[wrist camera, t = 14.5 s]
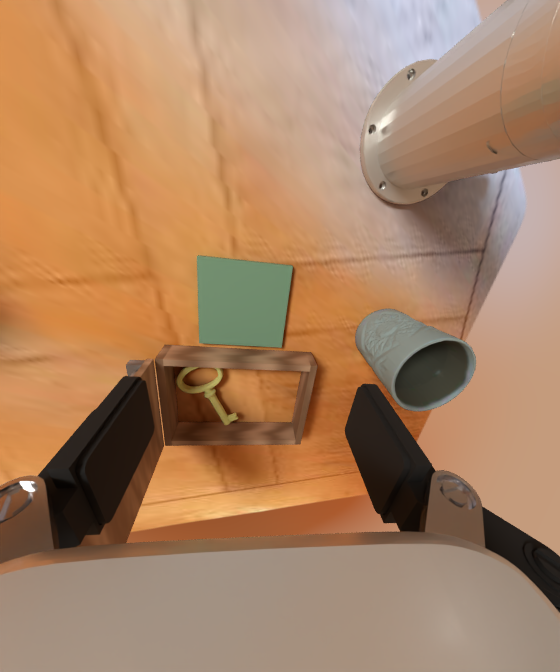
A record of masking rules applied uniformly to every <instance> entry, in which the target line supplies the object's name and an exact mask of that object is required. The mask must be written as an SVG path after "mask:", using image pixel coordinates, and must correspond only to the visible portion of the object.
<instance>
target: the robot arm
mask: <svg viewBox="0 0 560 672" xmlns="http://www.w3.org/2000/svg"><path fill="white" fill-rule="evenodd" d="M407 77H408V78H407ZM368 130H370V131H371V133H370V134H369V132H368ZM556 159H560V0H507V1H505V2H504V3H503V4H502V5H501V6H500V7H499V8H497V9H496V10H495V11H494V12H493V13H492V14H490V15H489V16H488V17H487V18H486V19H485V20H484V21H482V22H481V23H480V24H479V25H478V26H477V27H476V28H474V29H473V30H472V31H471V32H470V33H469V34H467V35H466V36H465V37H464V38H463V39H462V40H461V41H459V42H458V43H457V44H456V45H455V46H454V47H453V48H451V49H450V50H449V51H448V52H447V53H446V54H444V55H443V56H442V57H441V58H440V59H439V60H434V59H427V60H422V61H417V62H415V63H413V64H411V65H408V66H406V67H405V68H403V69H402V70H401V71H399V72H398V73H397V74H395V75H394V76H393V77H392V78H391V79H390V80H389V81H388V82H387V83H386V84H385V86H384V87H383V88H382V89H381V91H380V92H379V93H378V94H377V96H376V98H375V99H374V101H373V103H372V105H371V106H370V108H369V111H368V113H367V116H366V118H365V121H364V125H363V129H362V133H361V141H360V161H361V166H362V170H363V174H364V176H365V179H366V181H367V183H368V185H369V186H370V188H371V189H372V191H373V192H374V193H375V194H376V195H377V196H378V197H380V198H381V199H383V200H385V201H386V202H389V203H393V204H401V205H406V204H413V203H417V202H420V201H423V200H425V199H427V198H429V197H431V196H432V195H434V194H435V193H436V192H438V191H439V190H440V189H442V188H443V187H444V186H445V185H446V183H447V182H450V181H455V180H459V179H464V178H469V177H474V176H479V175H484V174H488V173H491V174H493V173H497V172H498V171H503V170H508V169H513V168H517V167H522V166H527V165H532V164H537V163H542V162H547V161H551V160H556ZM379 184H380V185H381V187H380V188H379ZM421 192H422V193H421ZM154 428H155V426H154V420H153V415H152V410H151V405H150V400H149V394H148V389H147V384H146V381H145V380H142V378H141V377H137V376H125V377H123V378H122V379H121V380H120V381H119V383H118V384H117V385H116V386H115V387H114V389H113V390H112V391H111V392H110V393H109V394H108V396H107V397H106V398H105V399H104V400H103V402H102V403H101V404H100V405H99V406H98V408H97V409H95V410H94V411H93V412H92V413H91V414H90V415H89V416H88V417H87V418H86V420H85V421H84V422H83V423H82V424H81V425H80V427H79V428H78V429H77V430H76V431H75V433H74V434H73V435H72V436H71V437H70V438H69V440H68V441H67V442H66V443H65V444H64V446H63V447H62V448H61V449H60V450H59V451H58V453H57V454H56V455H55V456H54V457H53V458H52V460H51V461H50V462H49V463H48V464H47V466H46V467H45V468H44V469H43V470H42V471H41V473H40V474H39V475H38V476H24V477H19V478H17V479H14V480H11V481H9V482H7V483H5V484H3V485H1V486H0V672H560V557H559V556H558V555H557V554H556V553H555V552H554V551H552V550H551V549H550V548H548V547H547V546H545V545H544V544H542V543H541V542H539V541H537V540H536V539H534V538H532V537H531V536H529V535H528V534H526V533H524V532H523V531H521V530H519V529H518V528H516V527H515V526H513V525H511V524H510V523H508V522H506V521H504V520H503V519H502V518H500V517H498V516H497V515H495V514H494V513H492V512H490V511H489V510H487V509H485V508H484V507H482V504H481V500H480V498H479V496H478V494H477V493H476V491H475V490H474V489H473V488H472V487H471V486H470V484H468V483H467V482H466V481H465V480H464V479H462V478H461V477H459V476H458V475H456V474H454V473H451V472H449V471H444V470H441V471H435V469H434V468H433V467H432V464H431V463H430V462H429V460H428V458H427V457H426V456H425V454H424V453H423V451H422V450H421V448H420V447H419V445H418V444H417V442H416V441H415V440H414V438H413V437H412V435H411V434H410V432H409V431H408V429H407V428H406V427H405V425H404V424H403V422H402V421H401V419H400V418H399V416H398V415H397V414H396V412H395V411H394V409H393V408H392V406H391V405H390V403H389V402H388V401H387V399H386V398H385V396H384V395H383V393H382V392H381V390H380V389H379V388H378V386H377V385H375V384H362V385H361V387H358V389H357V392H356V395H355V398H354V402H353V405H352V408H351V411H350V414H349V417H348V421H347V424H346V427H345V435H346V438H347V440H348V443H349V445H350V448H351V450H352V453H353V455H354V458H355V461H356V463H357V466H358V468H359V471H360V473H361V476H362V478H363V481H364V483H365V486H366V489H367V491H368V494H369V496H370V499H371V501H372V504H373V506H374V509H375V511H376V512H377V513H378V514H380V515H381V518H382V520H383V522H384V523H397V525H398V528H399V530H400V532H364V533H363V532H362V533H335V534H309V535H285V536H264V537H241V538H220V539H219V538H218V539H198V540H178V541H158V542H139V543H123V544H108V545H94V546H81V547H78V546H79V545H80V544H81V542H82V541H83V539H84V537H85V535H100V533H101V531H102V529H103V527H104V525H105V524H106V523H109V522H110V521H111V520H112V518H113V517H114V515H115V513H116V510H117V508H118V506H119V504H120V502H121V500H122V498H123V496H124V494H125V492H126V490H127V488H128V486H129V484H130V481H131V479H132V477H133V475H134V473H135V471H136V469H137V467H138V465H139V463H140V461H141V459H142V457H143V455H144V452H145V450H146V448H147V446H148V444H149V442H150V440H151V438H152V436H153V433H154Z"/></svg>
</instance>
